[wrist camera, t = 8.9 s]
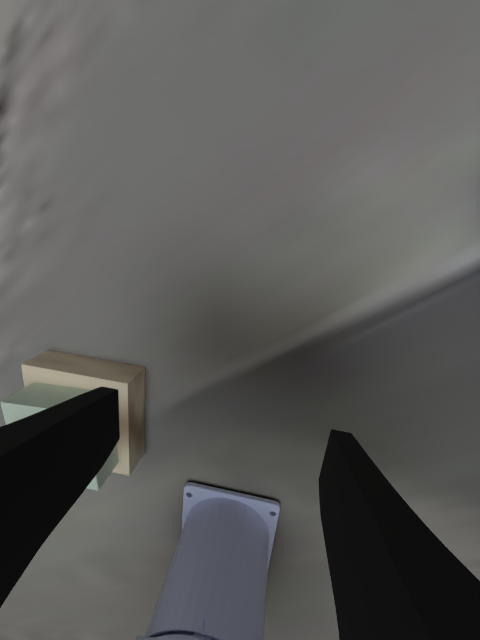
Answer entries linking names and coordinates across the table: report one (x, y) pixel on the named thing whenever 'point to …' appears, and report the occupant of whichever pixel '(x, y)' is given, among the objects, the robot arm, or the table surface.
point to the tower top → (46, 397)
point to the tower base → (94, 375)
